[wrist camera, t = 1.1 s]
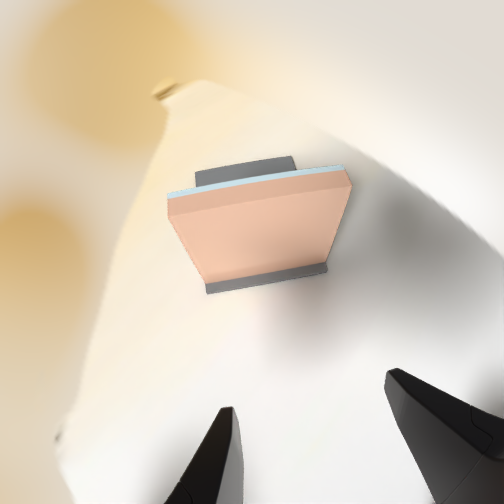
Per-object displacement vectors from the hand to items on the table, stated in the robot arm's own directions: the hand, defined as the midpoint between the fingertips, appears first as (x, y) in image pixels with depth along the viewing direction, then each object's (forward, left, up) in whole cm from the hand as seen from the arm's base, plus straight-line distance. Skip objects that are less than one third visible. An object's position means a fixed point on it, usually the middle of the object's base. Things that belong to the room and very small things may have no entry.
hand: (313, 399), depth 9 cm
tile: (+10, -3, -12) cm, 16 cm away
